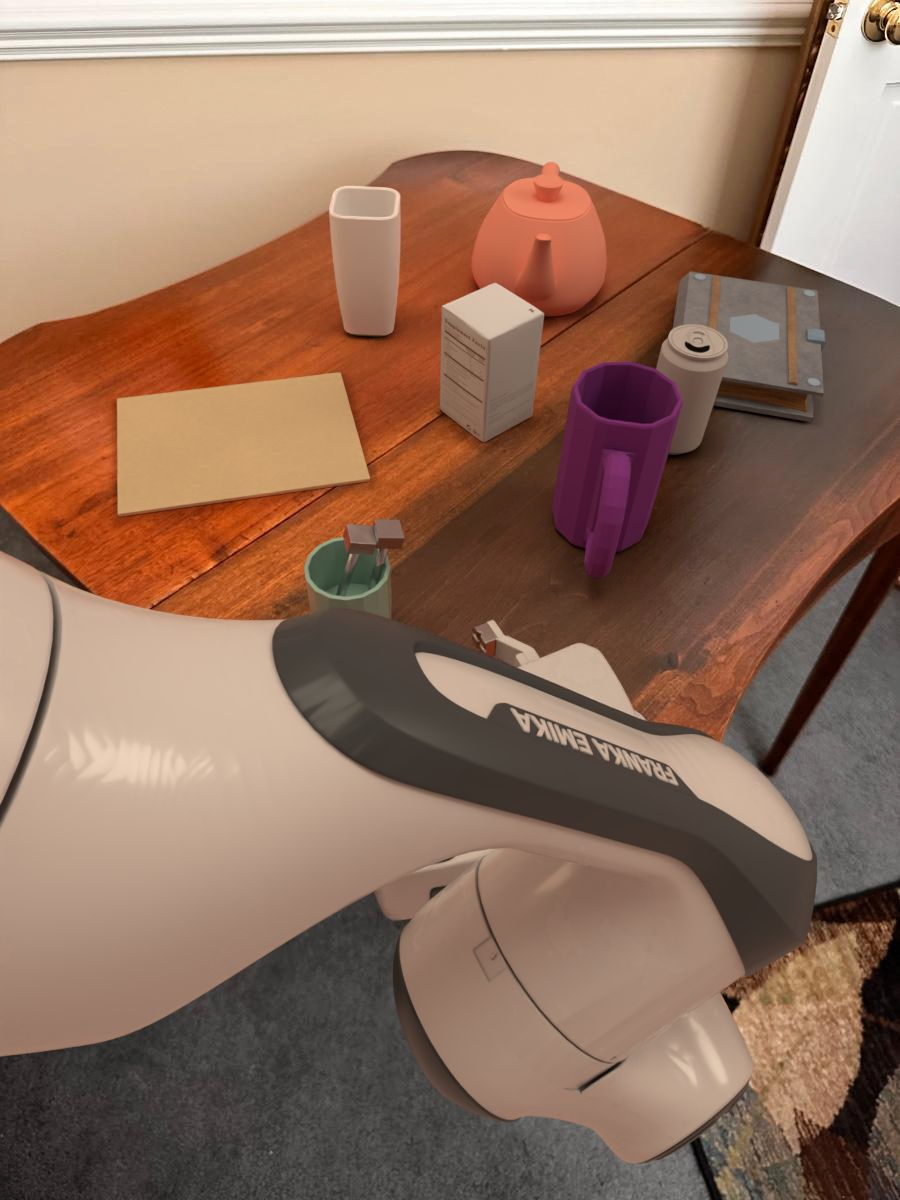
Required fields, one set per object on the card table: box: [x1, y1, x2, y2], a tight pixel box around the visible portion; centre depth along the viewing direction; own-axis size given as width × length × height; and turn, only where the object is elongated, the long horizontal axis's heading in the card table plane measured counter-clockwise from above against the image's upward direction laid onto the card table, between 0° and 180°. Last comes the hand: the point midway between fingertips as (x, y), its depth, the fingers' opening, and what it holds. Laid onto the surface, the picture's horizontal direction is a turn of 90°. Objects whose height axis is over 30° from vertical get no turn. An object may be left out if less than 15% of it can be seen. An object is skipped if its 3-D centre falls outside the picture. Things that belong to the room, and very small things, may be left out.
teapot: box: [471, 161, 608, 317], centre depth 105 cm, size 25×17×13 cm
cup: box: [328, 185, 402, 337], centre depth 98 cm, size 7×7×15 cm
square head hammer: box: [336, 523, 377, 596], centre depth 67 cm, size 2×2×9 cm
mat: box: [116, 371, 371, 518], centre depth 89 cm, size 24×18×1 cm
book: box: [672, 270, 826, 423], centre depth 100 cm, size 21×16×5 cm
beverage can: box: [655, 324, 728, 456], centre depth 87 cm, size 6×6×12 cm
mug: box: [551, 361, 683, 580], centre depth 75 cm, size 9×16×15 cm, turn 170°
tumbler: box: [303, 536, 393, 620], centre depth 70 cm, size 6×6×9 cm
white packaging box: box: [439, 283, 545, 444], centre depth 88 cm, size 7×7×13 cm
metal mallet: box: [367, 518, 406, 591], centre depth 67 cm, size 2×2×9 cm
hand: (417, 653), depth 56 cm, fingers open, 8 cm apart
